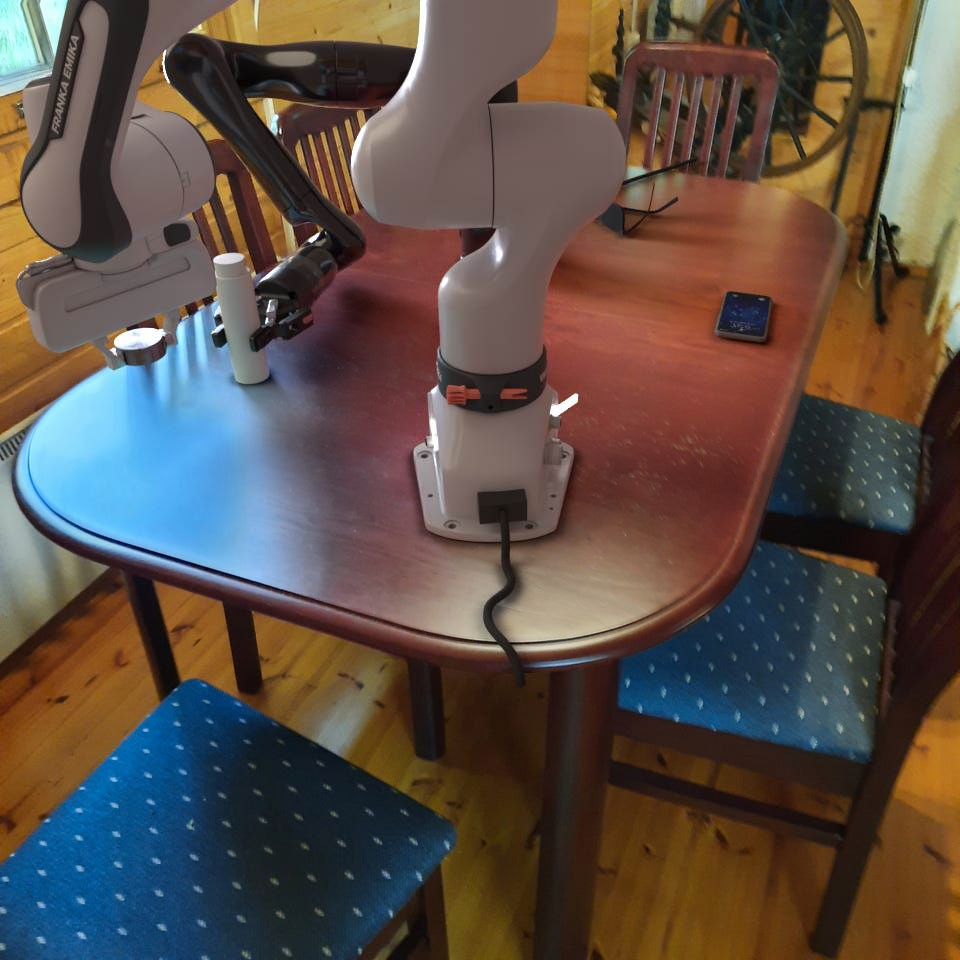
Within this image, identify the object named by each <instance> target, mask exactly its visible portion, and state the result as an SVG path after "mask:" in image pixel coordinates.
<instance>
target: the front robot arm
mask: <svg viewBox="0 0 960 960" xmlns="http://www.w3.org/2000/svg"><path fill="white" fill-rule="evenodd" d="M238 1H239V0H67V2H66V5H65V10H64V14H63V18H62V23H61V27H60V31H59V37H58V41H57V46H56V51H55V56H54V61H53V64H52V65H53V66H52V70H51V73H50V74H46V75H43V76H39V77H36V78H34V79H32V80H30V81H29V82H27V84H26V85H25V86H24V88H23V90H22V110H23V115H24V122H25V125H26V131H27V133H28V138H29V142H30V145H31V146H30V148H29V150H28V151H27V152H26V155H25V157H24V160H23V161H22V166H21V170H20V176H19V187H18V189H19V200H20V206H21V209H22V211H23V214H24V215H23V216H24V217H25V219H26V221H27V223H28V225H29V226H30V228H31V230H33V232H34V234H36V236H37V237H38V238H39V239H41V241H42V242H44V244H46V245H47V246H49V247H51V248H52V249H54V250H56V251H58V252H59V253H57V254H55V255H52V256H50V257H47V258H46V259H43V260H39V261H37V260H36V261H33V262H29V263H28V264H26V265H25V266H24V269H23V270H22V271H20V273H18V275H17V277H16V280H15V281H14V282H15V289H16V291H17V294H18V297H19V301H20V302H21V303H22V305H23V306H24V307H26V312H27V316H28V321H29V324H30V329H31V330H32V334H33V337H34V339H35V341H36V342H37V343H38V344H39V345H40V346H41V347H42V348H44V349H46V350H47V351H50V352H52V353H54V354H61V353H64V352H67V351H70V350H73V349H75V348H77V347H81V346H83V345H85V344H88V343H89V344H90V345H91V346H93V348H95V349H96V350H98V351H99V352H100V353H101V354H102V355H103V358H104V360H105V363H106V366H107V367H108V368H109V369H110V370H112V371H113V372H114V371H117V370H119V369H121V368H123V367H126V366H127V365H126V362H125V361H124V355H123V353H122V352H121V351H118V350H117V349H116V348H115V347H113V348H110V349H109V348H108V347H106V346H105V345H109V343H110V342H109V338H108V335H112V334H114V333H117V332H120V331H122V330H124V329H127V328H130V327H132V326H134V325H137V324H140V323H143V322H146V321H148V320H151V319H153V318H156V317H158V316H160V315H163V316H164V317H163V322H162V328H161V329H158V330H159V331H160V332H161V333H162V335H163V338H164V339H165V343H166V346H167V350H168V349H170V348H172V347H175V346H177V345H179V340H178V337H177V336H178V335H177V330H178V326H179V324H180V321H181V317H182V314H181V310H180V308H182V307H185V306H187V305H189V304H192V303H195V302H197V301H200V300H203V299H205V298H208V297H210V296H213V295H214V293H215V292H216V286H217V279H216V275H215V266H214V263H213V261H212V259H211V256H210V253H209V250H208V248H207V247H206V245H205V243H204V242H202V241H201V239H200V240H199V239H198V238H199V236H200V229H199V226H198V223H197V222H196V221H195V220H194V219H192V218H190V217H189V216H188V215H191V214H192V213H194V212H196V211H198V210H200V209H201V208H202V207H203V206H204V205H206V204H208V203H209V202H210V201H211V200H212V198H213V196H214V194H215V191H216V186H217V166H216V161H215V158H214V157H215V156H214V155H213V152H212V148H211V147H210V145H209V143H208V141H207V139H206V138H205V136H204V135H203V133H202V131H201V130H199V128H197V126H196V125H195V124H194V123H192V122H191V120H189V119H187V118H186V117H184V116H183V115H181V114H178V113H177V112H174V111H171V110H161V109H158V108H157V107H154V106H151V105H149V104H146V103H144V102H142V101H140V100H138V99H137V98H138V94H139V90H140V87H141V85H142V83H143V81H144V78H145V77H146V75H147V73H148V72H149V70H150V69H151V67H152V66H153V65H154V63H155V62H156V61H157V60H158V59H159V58H160V57H161V56H162V54H164V53H165V51H166V50H167V49H168V48H169V47H170V46H171V45H172V44H174V43H175V42H176V41H177V40H179V39H180V38H181V37H183V36H184V35H185V34H187V33H191V31H192V30H194V29H195V28H197V27H198V26H201V25H202V24H203V23H205V22H206V21H209V19H211V18H213V17H215V16H216V15H218V14H220V13H221V12H223V11H225V10H226V9H227V8H229V7H231V6H232V5H234V4H235V3H236V2H238ZM558 4H559V0H419V30H418V39H417V46H416V48H417V50H416V54H415V57H414V61H413V63H412V66H411V69H410V71H409V73H408V75H407V77H406V79H405V81H404V82H403V84H402V86H401V87H400V89H399V90H398V92H397V93H396V94H395V96H394V97H393V98H392V99H391V100H390V101H389V102H388V103H387V104H386V105H385V106H384V107H381V109H380V110H379V111H377V112H376V113H374V114H373V115H372V116H371V117H369V118H368V120H367V121H366V122H365V123H364V125H363V126H362V127H361V129H360V130H359V133H358V134H357V137H356V138H355V141H354V144H353V148H352V151H351V156H350V157H351V158H350V174H351V180H352V186H353V188H354V192H355V194H356V197H357V199H358V200H359V202H360V204H361V205H362V207H363V208H364V210H365V211H366V212H367V213H368V215H369V216H370V217H371V218H372V219H373V220H374V221H375V222H377V223H378V224H382V225H387V226H393V227H398V228H399V227H400V228H406V229H413V230H420V231H438V230H458V229H459V230H460V229H462V228H484V227H492V228H497V229H496V231H495V233H494V235H493V236H492V237H491V239H490V240H489V241H488V242H487V243H486V244H485V245H484V246H483V247H481V248H480V249H478V250H477V251H475V252H473V253H471V254H469V255H467V256H466V257H464V258H462V259H461V258H460V259H459V260H458V261H457V262H455V263H454V264H453V265H452V266H451V267H450V268H449V269H448V270H447V271H446V273H445V274H444V275H443V277H442V278H441V281H440V283H439V286H438V290H437V307H438V327H439V342H440V343H439V344H440V345H439V346H438V348H437V354H436V356H437V358H436V363H435V364H436V376H437V384H436V385H435V387H434V386H433V388H432V389H431V390H430V391H428V392H427V406H428V407H427V409H428V424H429V435H426V436H425V438H424V442H422V443H419V444H417V445H416V446H415V447H414V448H413V454H412V455H413V457H412V458H413V464H414V470H415V475H416V476H415V477H416V480H417V487H418V492H419V498H420V499H419V500H420V503H421V504H420V505H421V510H422V516H423V522H424V526H425V529H426V530H427V531H428V532H429V533H432V534H434V535H437V536H440V537H443V538H448V539H452V540H457V541H466V542H477V543H478V542H480V543H501V544H500V545H501V549H500V551H501V552H500V556H501V557H500V559H501V560H500V561H501V568H502V572H503V574H504V576H505V578H506V582H505V584H504V586H503V587H502V588H501V589H500V590H498V591H497V592H496V593H495V594H493V595H492V596H491V597H490V598H489V599H488V600H487V601H485V604H484V605H483V609H482V611H483V612H482V621H483V625H484V628H485V629H486V631H487V632H488V633H489V635H490V636H491V637H492V638H493V639H494V640H495V642H496V643H497V644H498V645H499V646H500V647H501V649H502V650H503V651H504V653H505V655H506V656H507V659H508V660H509V663H510V665H511V668H512V671H513V676H514V681H515V684H516V687H518V688H524V687H525V686H526V677H525V672H524V668H523V665H522V662H521V661H522V660H521V659H520V656H519V655H518V653H517V651H516V649H515V647H514V646H513V645H512V643H511V642H510V641H509V640H508V638H507V637H506V636H505V635H504V634H503V632H501V631H500V629H499V628H498V627H497V626H496V623H495V621H494V619H493V610H494V608H495V607H496V606H497V605H498V604H499V603H501V602H502V601H504V600H505V599H506V598H507V597H509V596H510V595H511V593H512V592H513V591H514V589H515V587H516V582H517V579H516V575H515V573H514V571H513V568H512V565H511V564H512V563H511V542H518V541H527V540H531V539H536V538H539V537H543V536H546V535H548V534H550V533H552V532H554V531H556V530H557V527H558V525H559V520H560V518H561V517H560V516H561V512H562V508H563V504H564V500H565V497H566V492H567V488H568V483H569V480H570V476H571V472H572V469H573V468H572V467H573V464H574V459H575V450H574V447H573V446H571V445H570V444H568V443H566V442H563V441H561V439H560V438H558V430H560V429H561V428H562V416H559V415H560V414H562V413H563V412H565V411H566V410H568V408H571V407H572V406H574V405H575V404H577V403H578V397H579V394H577V393H574V394H573V395H571V396H570V397H569V398H567V399H566V400H565V401H562V402H561V403H560V404H559V392H557V391H556V390H555V389H554V388H553V387H552V386H551V385H550V384H549V383H548V382H547V379H548V367H549V361H548V356H547V355H548V354H547V353H548V351H547V347H546V345H545V344H544V332H545V331H544V330H545V329H544V328H545V316H546V307H547V298H548V292H549V286H550V282H551V279H552V276H553V273H554V271H555V269H556V267H557V265H558V262H559V260H560V259H561V257H562V256H563V254H564V252H565V251H566V249H567V248H568V247H569V245H570V244H571V243H572V241H573V240H574V239H575V238H576V237H577V235H578V234H580V232H581V231H582V230H583V229H585V228H586V227H587V226H588V225H589V224H590V223H592V222H593V221H594V220H595V219H598V218H597V217H598V216H600V215H602V214H603V213H604V212H605V211H606V210H607V209H608V208H609V206H610V205H611V204H612V203H613V202H615V200H616V198H617V196H618V195H619V192H620V191H621V189H622V187H623V186H622V183H623V181H625V176H626V169H627V151H626V145H625V142H624V138H623V135H622V133H621V130H620V128H619V127H618V125H617V123H616V122H615V120H614V119H613V117H612V116H611V115H610V114H609V113H608V112H607V111H606V110H605V109H603V108H599V107H594V106H589V105H583V104H578V103H572V102H565V101H558V100H552V101H551V100H550V101H525V102H518V103H495V104H487V102H488V101H489V100H490V99H491V98H492V97H493V96H494V95H495V94H496V93H497V92H498V91H499V90H500V89H502V88H503V87H505V86H506V85H508V84H510V83H512V82H513V81H515V80H517V81H518V79H521V78H522V77H524V76H525V75H527V74H528V73H530V72H531V71H532V70H533V69H534V68H535V67H536V66H537V65H538V64H539V63H540V62H541V61H542V60H543V58H544V57H545V55H546V53H548V51H549V49H550V47H551V45H552V44H553V41H554V38H555V36H556V32H557V21H558V7H559V5H558Z"/></svg>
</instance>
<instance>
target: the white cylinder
mask: <svg viewBox="0 0 960 960" xmlns="http://www.w3.org/2000/svg"><path fill="white" fill-rule="evenodd" d="M212 262H213V267H214V271H215V275H216V279H217V286H216V289H215V292H216V296H217V301H218V307H219V306H220V311H221V315H222V320H223V325H224V329H225V334H226V339H227V343H226V344H227V348H228V352H229V357H230V362H231V366H232V371H233V376H234V380H235V381H236V382H237V383H240V384H243V385H253V384H259V383H261V382H263V381H265V380H267V379H268V378H269V377H270V369H269V367H270V366H269V362H268V358H267V352H266V347H265V348H263V349H260V350H259V351H258V352H252V351H251V348H250V343H249V338H250V336H251V335H252V334H253V333H254V332H255V331H256V330H257V329H258V328H259V327H260V326H261V324H260V319H259V314H258V308H257V303H256V297H255V292H254V289H255V287H254V282H253V278H252V271H251V268H249V266H247V259H246V257H245V255H244V254H242V253H239V252H227V253H222V254H219V255H217V256H215V257H214V258H213V261H212Z"/></svg>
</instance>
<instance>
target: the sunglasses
mask: <svg viewBox="0 0 960 960" xmlns="http://www.w3.org/2000/svg"><path fill="white" fill-rule="evenodd" d="M655 185H656V183H655V181H653V183H652V189H651V195H650V201H649V206H648V209H647V210H646V209H645V210H643V209H638V208H631V207H625V206H621V205H620V204H619V203H617V202H615V201H613V203H612V204H611V205H610V206H609V208H608V209H607V210H606V211H605V212H604V213H603V214H601V215H600V216H598V217H597V218H596V219H597V220H598V221H600V222H601V223H602V224H603V225H604V227H606V228H608V229H609V230H611V231H612V232H614V233H616V234H618V235H623V236H624V235H629V234H630V233H632V231H634V230H635V229H636V228H638V227H639V225H641V223H642V222H643V221H644V220H646V218H647V217H648V215H655V214H658V213H661V212H663V211H664V210H666V209H668V208H669V207H671V206H672V205H675V204H676V203H678V201H679V196H676V197H674V198H673V199H671V200H669V201H668V202H667V203H666V204H664V205H662V206H661V207H659V208H658V209H654V210H651V207H652V202H653V196H654V191H655ZM625 212H633V213H639V214H644V215H643V216H642V217H641V218H640V219H639V220H638V221H637V222H635V224H633V225H632V226H630V228H628V229H627V230H626V229H625V228H626V227H625V225H626V213H625Z"/></svg>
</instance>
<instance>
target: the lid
mask: <svg viewBox="0 0 960 960" xmlns="http://www.w3.org/2000/svg"><path fill="white" fill-rule="evenodd" d="M159 330H160V329H156V328H152V327H140V328H135V329H131V330H127V331H125V332H123V333H121V334H119V335H118V336H117V337H116V338H115V339H114V341H113V346H114V348H116V349H117V350H118V351H121V352H122V353H123V355H124V361H125V362H126V366H129V367H141V366H147V365H151V364H154V363H156V362H159V361H160V360H161V359H163V358H164V357H165V356H166V355H167V352H168V349H167V346H166V343H165V339H164V338H163V335H162V333H161V332H160V331H159Z"/></svg>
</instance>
